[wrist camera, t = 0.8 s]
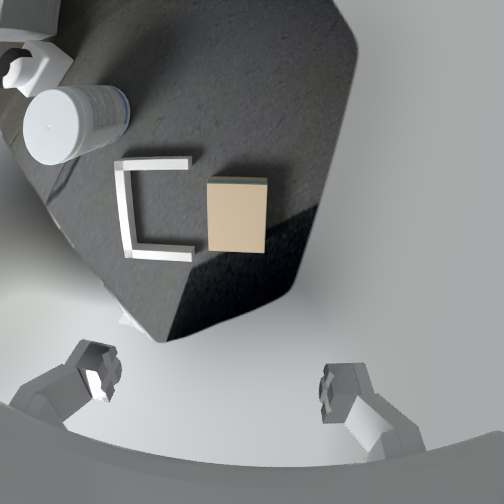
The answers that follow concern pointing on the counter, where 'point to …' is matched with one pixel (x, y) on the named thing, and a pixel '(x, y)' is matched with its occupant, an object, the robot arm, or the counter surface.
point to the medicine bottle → (33, 67)
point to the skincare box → (28, 19)
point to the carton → (237, 213)
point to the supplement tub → (74, 121)
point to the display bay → (127, 211)
